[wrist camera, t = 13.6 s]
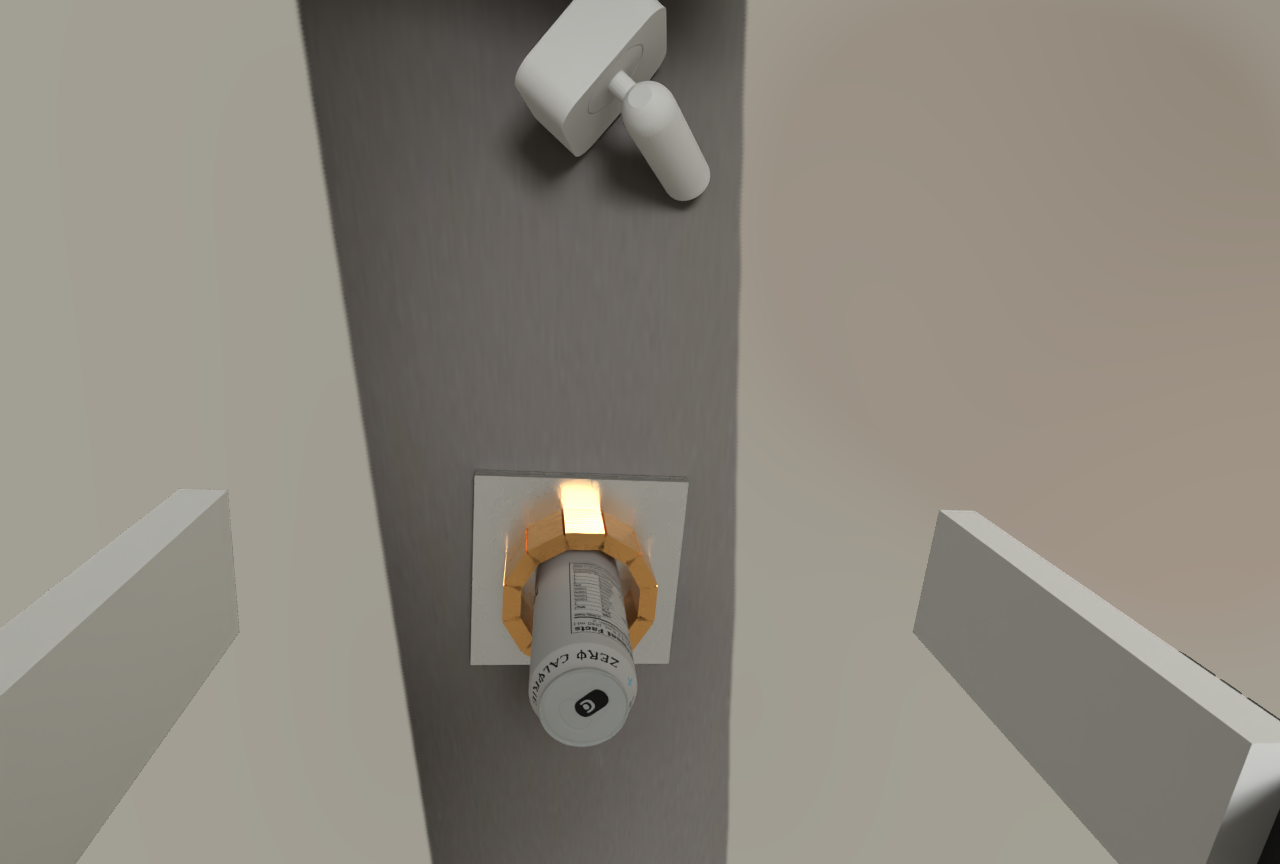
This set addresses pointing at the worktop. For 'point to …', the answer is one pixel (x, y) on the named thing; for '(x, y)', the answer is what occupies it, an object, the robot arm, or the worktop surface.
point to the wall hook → (612, 87)
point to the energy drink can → (580, 649)
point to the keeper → (573, 520)
